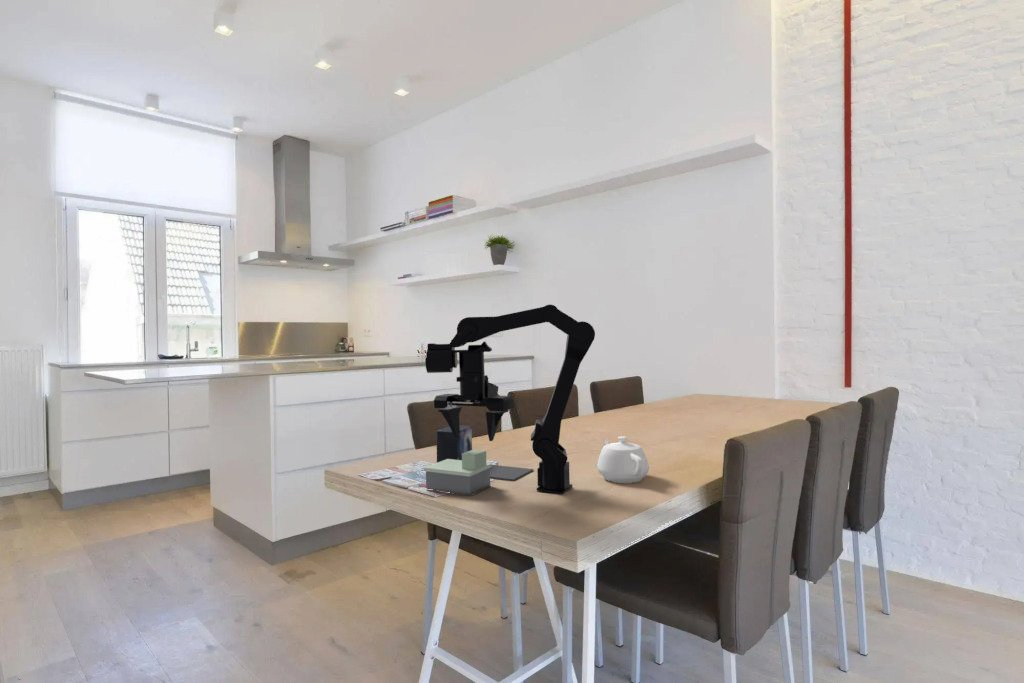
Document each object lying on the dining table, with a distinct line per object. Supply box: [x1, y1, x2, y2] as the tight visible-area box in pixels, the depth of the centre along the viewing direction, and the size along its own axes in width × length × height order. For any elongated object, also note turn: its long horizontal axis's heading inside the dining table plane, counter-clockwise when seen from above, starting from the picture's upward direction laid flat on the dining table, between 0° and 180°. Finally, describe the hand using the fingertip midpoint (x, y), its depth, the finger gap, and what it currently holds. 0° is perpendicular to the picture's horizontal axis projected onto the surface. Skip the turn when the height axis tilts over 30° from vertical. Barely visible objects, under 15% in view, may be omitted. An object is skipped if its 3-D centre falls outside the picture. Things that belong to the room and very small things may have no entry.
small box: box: [436, 424, 473, 463], centre depth 155 cm, size 11×6×10 cm, turn 161°
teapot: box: [596, 435, 650, 484], centre depth 139 cm, size 20×12×10 cm, turn 14°
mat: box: [490, 464, 534, 482], centre depth 147 cm, size 14×11×1 cm
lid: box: [423, 449, 493, 477], centre depth 133 cm, size 13×10×5 cm
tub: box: [425, 468, 491, 497], centre depth 133 cm, size 12×9×4 cm
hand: (474, 439), depth 131 cm, fingers open, 9 cm apart
